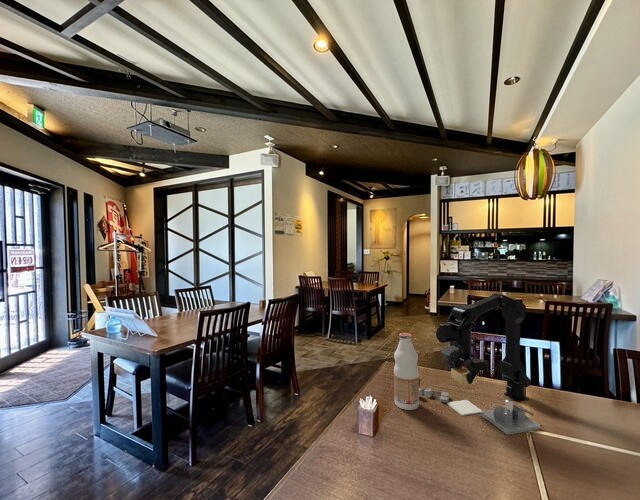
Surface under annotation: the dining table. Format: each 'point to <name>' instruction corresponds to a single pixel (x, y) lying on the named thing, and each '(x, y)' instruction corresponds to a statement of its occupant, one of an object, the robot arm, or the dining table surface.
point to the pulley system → (429, 393)
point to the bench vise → (510, 418)
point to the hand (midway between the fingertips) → (464, 380)
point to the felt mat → (464, 407)
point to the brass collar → (461, 376)
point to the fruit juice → (406, 374)
